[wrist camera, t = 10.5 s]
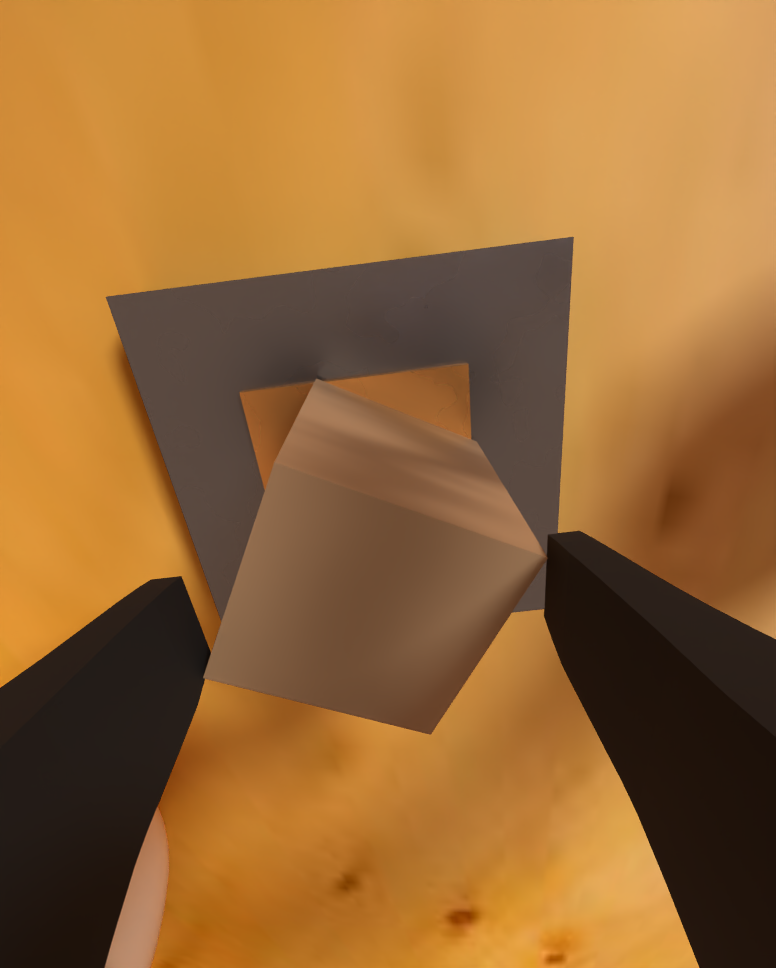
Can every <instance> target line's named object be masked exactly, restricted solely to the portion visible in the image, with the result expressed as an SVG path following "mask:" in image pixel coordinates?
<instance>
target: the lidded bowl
mask: <svg viewBox="0 0 776 968" xmlns="http://www.w3.org/2000/svg"><path fill="white" fill-rule="evenodd" d="M168 878H169V846H168V840H167V834H166V829H165V824H164V821H163V818H162V815H161V813H160V810H159V808H158V806H157V809H156V811H155V814H154V816H153V819H152V821H151V824H150V826H149V829H148V831H147V834H146V837H145V839H144V842H143V845H142V848H141V850H140V853H139V856H138V859H137V862H136V864H135V867H134V871H133V874H132V877H131V881H130V884H129V887H128V890H127V894H126V897H125V900H124V904H123V907H122V910H121V913H120V917H119V920H118V923H117V926H116V930H115V933H114V936H113V940H112V943H111V947H110V950H109V954H108V958H107V961H106V965H105V968H151V965H152V961H153V958H154V954H155V951H156V947H157V943H158V938H159V933H160V929H161V924H162V919H163V915H164V909H165V901H166V894H167V886H168Z"/></svg>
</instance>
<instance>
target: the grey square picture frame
mask: <svg viewBox="0 0 776 968" xmlns="http://www.w3.org/2000/svg"><path fill="white" fill-rule="evenodd" d="M573 238H574V237H568V238H560V239H553V240H545V241H537V242H529V243H522V244H514V245H506V246H498V247H490V248H483V249H475V250H467V251H459V252H451V253H444V254H436V255H428V256H420V257H412V258H405V259H397V260H389V261H381V262H373V263H366V264H358V265H350V266H342V267H334V268H327V269H319V270H311V271H303V272H296V273H288V274H280V275H272V276H264V277H257V278H249V279H241V280H233V281H225V282H218V283H210V284H202V285H194V286H186V287H179V288H171V289H163V290H155V291H147V292H140V293H132V294H124V295H116V296H108V297H106V299H107V302H108V304H109V307H110V310H111V313H112V316H113V319H114V321H115V324H116V327H117V330H118V333H119V335H120V338H121V341H122V344H123V347H124V349H125V352H126V355H127V358H128V361H129V363H130V366H131V369H132V372H133V375H134V377H135V380H136V383H137V386H138V389H139V392H140V394H141V397H142V400H143V403H144V406H145V408H146V411H147V414H148V417H149V420H150V422H151V425H152V428H153V431H154V434H155V436H156V439H157V442H158V445H159V448H160V450H161V453H162V456H163V459H164V462H165V464H166V467H167V470H168V473H169V476H170V479H171V481H172V484H173V487H174V490H175V493H176V495H177V498H178V501H179V504H180V507H181V509H182V512H183V515H184V518H185V521H186V523H187V526H188V529H189V532H190V535H191V537H192V540H193V543H194V546H195V549H196V551H197V554H198V557H199V560H200V563H201V566H202V568H203V571H204V574H205V577H206V580H207V582H208V585H209V588H210V591H211V594H212V596H213V599H214V602H215V605H216V608H217V610H218V613H219V616H220V619H221V622H222V619H223V616H224V613H225V610H226V607H227V604H228V601H229V598H230V595H231V592H232V589H233V586H234V583H235V580H236V577H237V574H238V571H239V568H240V565H241V562H242V558H243V555H244V552H245V549H246V546H247V543H248V540H249V537H250V534H251V531H252V528H253V525H254V522H255V519H256V516H257V513H258V510H259V507H260V504H261V501H262V498H263V495H264V492H265V489H266V486H267V483H268V480H269V477H270V474H271V471H272V468H273V465H274V462H275V460H276V458H277V456H278V454H279V452H280V450H281V448H282V446H283V444H284V442H285V440H286V438H287V436H288V434H289V432H290V430H291V428H292V426H293V424H294V422H295V420H296V418H297V416H298V414H299V412H300V410H301V408H302V406H303V404H304V402H305V400H306V398H307V396H308V394H309V392H310V390H311V388H312V386H313V384H314V382H315V380H316V379H319V380H322V381H324V382H327V383H329V384H332V385H334V386H337V387H339V388H342V389H344V390H347V391H350V392H352V393H355V394H357V395H360V396H362V397H365V398H367V399H370V400H372V401H375V402H378V403H380V404H383V405H385V406H388V407H390V408H393V409H395V410H398V411H400V412H403V413H406V414H408V415H411V416H413V417H416V418H418V419H421V420H423V421H426V422H428V423H431V424H434V425H436V426H439V427H441V428H444V429H446V430H449V431H451V432H454V433H456V434H459V435H462V436H464V437H467V438H469V439H472V440H474V441H477V443H478V444H479V446H480V448H481V449H482V451H483V452H484V454H485V456H486V457H487V459H488V461H489V462H490V464H491V465H492V467H493V469H494V470H495V472H496V474H497V475H498V477H499V479H500V480H501V482H502V483H503V485H504V487H505V488H506V490H507V492H508V493H509V495H510V497H511V498H512V500H513V501H514V503H515V505H516V506H517V508H518V510H519V511H520V513H521V514H522V516H523V518H524V519H525V521H526V523H527V524H528V526H529V528H530V529H531V531H532V532H533V534H534V536H535V537H536V539H537V541H538V542H539V544H540V546H541V547H542V549H543V550H544V552H545V554H546V555H547V539H548V534H556V533H558V514H559V496H560V478H561V459H562V441H563V422H564V404H565V385H566V367H567V348H568V330H569V312H570V293H571V275H572V256H573ZM546 562H547V560H546ZM546 562H545V563H544V565H543V566H542V568H541V569H540V571H539V572H538V574H537V575H536V577H535V578H534V580H533V581H532V583H531V584H530V586H529V587H528V589H527V590H526V592H525V593H524V595H523V596H522V598H521V599H520V601H519V602H518V604H517V605H516V607H515V608H514V610H513V611H512V612H521V611H530V610H539V609H544V608H545V585H546Z"/></svg>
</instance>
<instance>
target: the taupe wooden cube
mask: <svg viewBox="0 0 776 968" xmlns="http://www.w3.org/2000/svg"><path fill="white" fill-rule="evenodd" d="M547 559H548V557H547V555H546V554H545V552H544V550H543V549H542V547H541V546H540V544H539V542H538V541H537V539H536V537H535V536H534V534H533V532H532V531H531V529H530V528H529V526H528V524H527V523H526V521H525V519H524V518H523V516H522V514H521V513H520V511H519V510H518V508H517V506H516V505H515V503H514V501H513V500H512V498H511V497H510V495H509V493H508V492H507V490H506V488H505V487H504V485H503V483H502V482H501V480H500V479H499V477H498V475H497V474H496V472H495V470H494V469H493V467H492V465H491V464H490V462H489V461H488V459H487V457H486V456H485V454H484V452H483V451H482V449H481V448H480V446H479V444H478V443H477V441H474V440H472V439H469V438H467V437H464V436H462V435H459V434H456V433H454V432H451V431H449V430H446V429H444V428H441V427H439V426H436V425H434V424H431V423H428V422H426V421H423V420H421V419H418V418H416V417H413V416H411V415H408V414H406V413H403V412H400V411H398V410H395V409H393V408H390V407H388V406H385V405H383V404H380V403H378V402H375V401H372V400H370V399H367V398H365V397H362V396H360V395H357V394H355V393H352V392H350V391H347V390H344V389H342V388H339V387H337V386H334V385H332V384H329V383H327V382H324V381H322V380H319V379H316V380H315V382H314V384H313V386H312V388H311V390H310V392H309V394H308V396H307V398H306V400H305V402H304V404H303V406H302V408H301V410H300V412H299V414H298V416H297V418H296V420H295V422H294V424H293V426H292V428H291V430H290V432H289V434H288V436H287V438H286V440H285V442H284V444H283V446H282V448H281V450H280V452H279V454H278V456H277V458H276V460H275V462H274V465H273V468H272V471H271V474H270V477H269V480H268V483H267V486H266V489H265V492H264V495H263V498H262V501H261V504H260V507H259V510H258V513H257V516H256V519H255V522H254V525H253V528H252V531H251V534H250V537H249V540H248V543H247V546H246V549H245V552H244V555H243V558H242V562H241V565H240V568H239V571H238V574H237V577H236V580H235V583H234V586H233V589H232V592H231V595H230V598H229V601H228V604H227V607H226V610H225V613H224V616H223V619H222V622H221V625H220V628H219V631H218V634H217V637H216V640H215V643H214V646H213V649H212V652H211V655H210V658H209V661H208V664H207V667H206V670H205V674H204V677H203V678H204V679H208V680H212V681H216V682H220V683H224V684H228V685H233V686H237V687H241V688H245V689H249V690H253V691H257V692H261V693H265V694H269V695H273V696H277V697H281V698H285V699H289V700H293V701H297V702H301V703H305V704H309V705H313V706H317V707H321V708H325V709H329V710H333V711H338V712H342V713H346V714H350V715H354V716H358V717H362V718H366V719H370V720H374V721H378V722H382V723H386V724H390V725H394V726H398V727H402V728H406V729H410V730H414V731H418V732H422V733H426V734H430V735H431V733H432V732H433V730H434V729H435V727H436V726H437V724H438V723H439V721H440V720H441V718H442V717H443V715H444V714H445V712H446V711H447V709H448V708H449V706H450V705H451V703H452V702H453V700H454V699H455V697H456V696H457V694H458V693H459V691H460V690H461V688H462V687H463V685H464V684H465V682H466V681H467V679H468V678H469V676H470V675H471V673H472V672H473V670H474V669H475V667H476V666H477V664H478V663H479V661H480V660H481V658H482V657H483V655H484V654H485V652H486V651H487V649H488V648H489V646H490V644H491V643H492V641H493V640H494V638H495V637H496V635H497V634H498V632H499V631H500V629H501V628H502V626H503V625H504V623H505V622H506V620H507V619H508V617H509V616H510V614H511V613H512V611H513V610H514V608H515V607H516V605H517V604H518V602H519V601H520V599H521V598H522V596H523V595H524V593H525V592H526V590H527V589H528V587H529V586H530V584H531V583H532V581H533V580H534V578H535V577H536V575H537V574H538V572H539V571H540V569H541V568H542V566H543V565H544V563H545V562H546V560H547Z"/></svg>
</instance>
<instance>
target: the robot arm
mask: <svg viewBox="0 0 776 968" xmlns="http://www.w3.org/2000/svg"><path fill="white" fill-rule="evenodd" d="M547 557H548V559H547V562H546V585H545V608H544V617H545V620H546V623H547V626H548V629H549V632H550V634H551V637H552V640H553V643H554V645H555V648H556V651H557V653H558V656H559V658H560V661H561V664H562V666H563V668H564V670H565V672H566V674H567V676H568V678H569V680H570V682H571V684H572V686H573V688H574V690H575V692H576V694H577V695H578V697H579V699H580V701H581V703H582V705H583V707H584V709H585V711H586V713H587V715H588V717H589V719H590V721H591V723H592V725H593V726H594V728H595V730H596V732H597V734H598V736H599V738H600V740H601V742H602V744H603V746H604V748H605V750H606V752H607V754H608V755H609V757H610V759H611V761H612V763H613V765H614V767H615V769H616V771H617V773H618V775H619V777H620V779H621V781H622V782H623V785H624V787H625V789H626V791H627V793H628V795H629V797H630V799H631V801H632V804H633V806H634V808H635V810H636V812H637V814H638V817H639V819H640V821H641V824H642V826H643V829H644V831H645V833H646V836H647V838H648V841H649V843H650V846H651V848H652V850H653V853H654V855H655V858H656V860H657V862H658V865H659V867H660V870H661V872H662V875H663V877H664V879H665V882H666V884H667V887H668V889H669V892H670V894H671V897H672V899H673V902H674V904H675V907H676V909H677V912H678V915H679V917H680V920H681V922H682V925H683V927H684V930H685V932H686V935H687V937H688V940H689V942H690V945H691V947H692V950H693V952H694V955H695V958H696V960H697V963H698V965H699V968H776V639H774V638H772V637H770V636H768V635H766V634H764V633H762V632H760V631H758V630H755V629H754V628H752V627H750V626H748V625H746V624H744V623H742V622H740V621H738V620H736V619H734V618H732V617H730V616H728V615H727V614H725V613H723V612H721V611H719V610H717V609H715V608H713V607H711V606H709V605H707V604H706V603H704V602H702V601H700V600H698V599H697V598H695V597H693V596H691V595H689V594H687V593H686V592H684V591H682V590H680V589H679V588H677V587H675V586H673V585H672V584H670V583H668V582H666V581H665V580H663V579H661V578H659V577H658V576H656V575H654V574H653V573H651V572H649V571H648V570H646V569H644V568H642V567H641V566H639V565H637V564H636V563H634V562H632V561H631V560H629V559H627V558H626V557H624V556H622V555H621V554H619V553H617V552H616V551H614V550H612V549H611V548H609V547H607V546H606V545H604V544H602V543H601V542H599V541H597V540H595V539H594V538H592V537H590V536H588V535H586V534H585V533H583V532H581V531H574V532H565V533H556V534H548V539H547ZM210 655H211V652H210V649H209V647H208V644H207V641H206V639H205V636H204V634H203V631H202V628H201V626H200V623H199V621H198V618H197V616H196V613H195V610H194V608H193V605H192V603H191V600H190V597H189V595H188V592H187V590H186V587H185V584H184V582H183V579H182V577H181V576H179V577H170V578H162V579H153V580H150V581H148V582H147V583H145V584H143V585H142V586H140V587H139V588H137V589H136V590H134V591H133V592H131V593H130V594H129V595H127V596H126V597H124V598H123V599H122V600H120V601H119V602H117V603H116V604H115V605H113V606H112V607H111V608H109V609H108V610H107V611H105V612H104V613H102V614H101V615H100V616H98V617H97V618H96V619H94V620H93V621H92V622H90V623H89V624H88V625H86V626H85V627H84V628H82V629H81V630H80V631H78V632H77V633H76V634H74V635H73V636H72V637H70V638H69V639H68V640H66V641H65V642H64V643H62V644H61V645H60V646H58V647H57V648H55V649H54V650H53V651H51V652H50V653H49V654H47V655H46V656H45V657H43V658H42V659H41V660H39V661H38V662H36V663H35V664H34V665H32V666H31V667H29V668H28V669H26V670H25V671H24V672H22V673H21V674H19V675H18V676H17V677H15V678H14V679H12V680H11V681H9V682H8V683H7V684H5V685H4V686H2V687H1V688H0V968H105V965H106V961H107V958H108V954H109V950H110V947H111V943H112V940H113V936H114V933H115V930H116V926H117V923H118V920H119V917H120V913H121V910H122V907H123V904H124V900H125V897H126V894H127V890H128V887H129V884H130V881H131V877H132V874H133V871H134V867H135V864H136V862H137V859H138V856H139V853H140V850H141V848H142V845H143V842H144V839H145V837H146V834H147V831H148V829H149V826H150V824H151V821H152V819H153V816H154V814H155V811H156V809H157V806H158V804H159V801H160V799H161V796H162V794H163V791H164V789H165V786H166V784H167V781H168V779H169V776H170V774H171V771H172V769H173V766H174V764H175V761H176V759H177V756H178V754H179V751H180V749H181V746H182V744H183V741H184V739H185V736H186V734H187V731H188V729H189V726H190V724H191V721H192V718H193V716H194V713H195V711H196V708H197V705H198V702H199V699H200V695H201V691H202V688H203V684H204V680H205V679H204V678H203V677H204V674H205V670H206V667H207V664H208V661H209V658H210Z"/></svg>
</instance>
